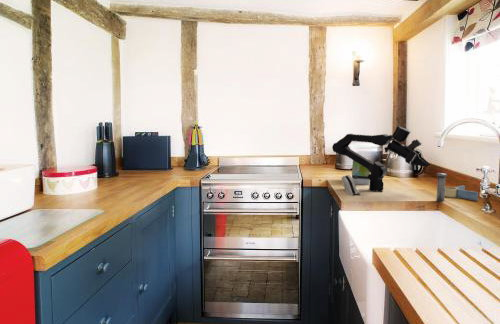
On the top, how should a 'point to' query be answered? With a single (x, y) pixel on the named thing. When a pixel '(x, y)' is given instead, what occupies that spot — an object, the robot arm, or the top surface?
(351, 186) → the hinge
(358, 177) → the tea box
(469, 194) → the hinge barrel
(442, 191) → the pin
